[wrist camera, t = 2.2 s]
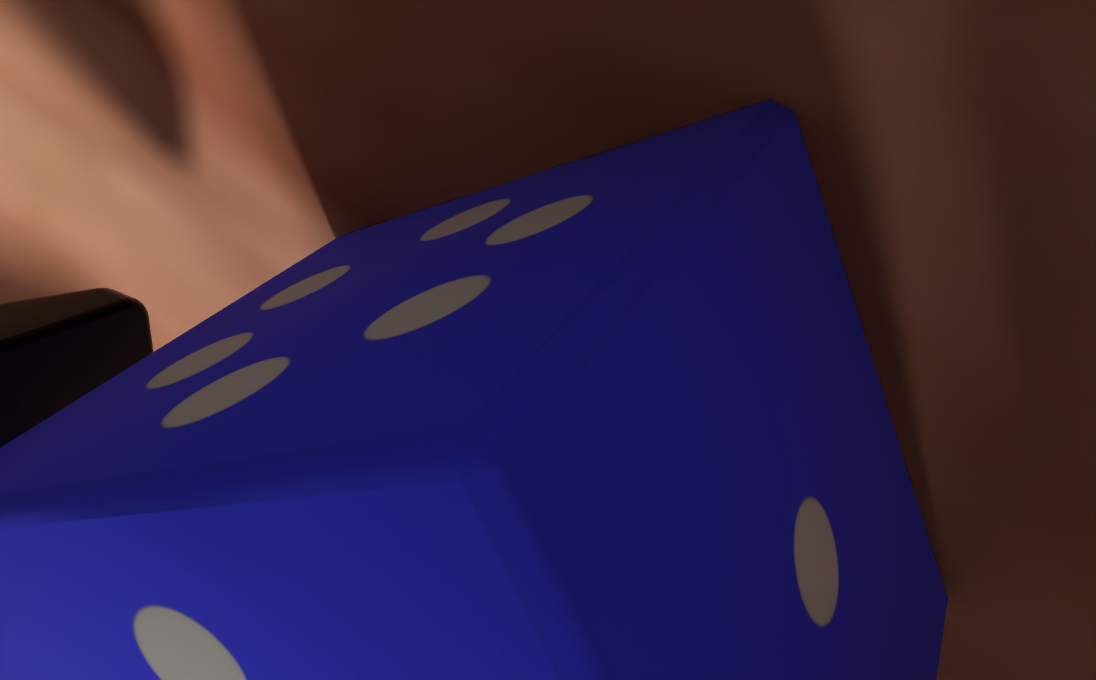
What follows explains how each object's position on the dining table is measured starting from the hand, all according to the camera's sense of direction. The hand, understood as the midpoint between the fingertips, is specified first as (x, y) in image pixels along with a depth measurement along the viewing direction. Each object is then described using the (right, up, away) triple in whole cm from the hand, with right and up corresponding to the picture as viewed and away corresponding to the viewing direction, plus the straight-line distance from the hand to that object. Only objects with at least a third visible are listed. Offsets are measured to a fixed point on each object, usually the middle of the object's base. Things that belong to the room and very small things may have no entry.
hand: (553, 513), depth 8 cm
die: (+1, +1, +2) cm, 2 cm away
